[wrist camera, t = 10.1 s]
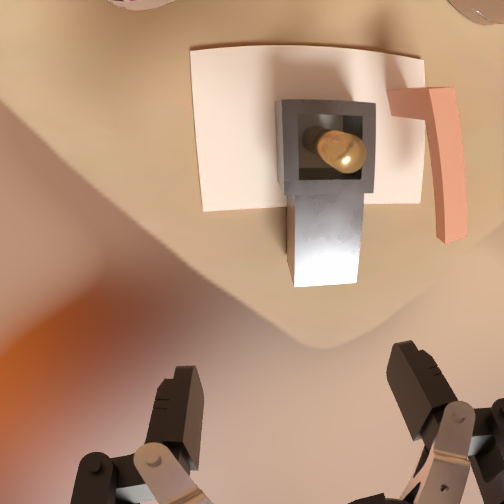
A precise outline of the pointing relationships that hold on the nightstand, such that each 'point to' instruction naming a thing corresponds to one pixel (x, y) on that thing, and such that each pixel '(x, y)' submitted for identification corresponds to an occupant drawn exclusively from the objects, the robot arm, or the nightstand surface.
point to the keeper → (439, 152)
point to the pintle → (335, 148)
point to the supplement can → (139, 4)
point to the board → (298, 87)
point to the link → (324, 194)
